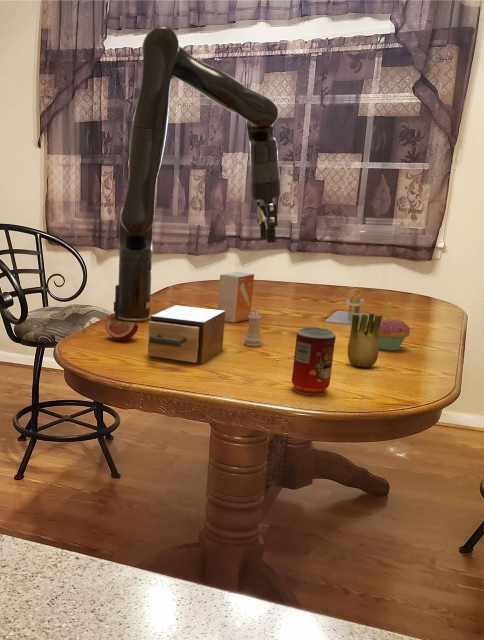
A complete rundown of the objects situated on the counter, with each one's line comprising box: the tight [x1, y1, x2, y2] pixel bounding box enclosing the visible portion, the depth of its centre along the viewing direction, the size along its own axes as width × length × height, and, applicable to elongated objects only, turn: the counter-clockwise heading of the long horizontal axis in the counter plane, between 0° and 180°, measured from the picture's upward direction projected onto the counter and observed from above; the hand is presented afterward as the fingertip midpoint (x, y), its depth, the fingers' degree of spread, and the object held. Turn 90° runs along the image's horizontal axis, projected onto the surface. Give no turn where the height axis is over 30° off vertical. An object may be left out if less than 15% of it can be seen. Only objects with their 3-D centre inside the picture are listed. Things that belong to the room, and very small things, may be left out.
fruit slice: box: [104, 318, 139, 342], centre depth 173 cm, size 8×7×5 cm
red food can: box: [291, 326, 336, 396], centre depth 133 cm, size 7×7×12 cm
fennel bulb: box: [347, 311, 383, 369], centre depth 150 cm, size 6×5×12 cm
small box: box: [217, 271, 255, 323], centre depth 195 cm, size 8×6×13 cm
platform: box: [325, 293, 377, 327], centre depth 198 cm, size 12×18×7 cm, turn 148°
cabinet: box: [148, 304, 226, 365], centre depth 160 cm, size 15×13×10 cm
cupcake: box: [379, 299, 411, 352], centre depth 164 cm, size 9×8×12 cm
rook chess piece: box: [243, 311, 263, 348], centre depth 168 cm, size 4×4×8 cm
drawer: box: [147, 320, 201, 364], centre depth 156 cm, size 18×11×8 cm, turn 149°
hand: (268, 240), depth 189 cm, fingers open, 8 cm apart
